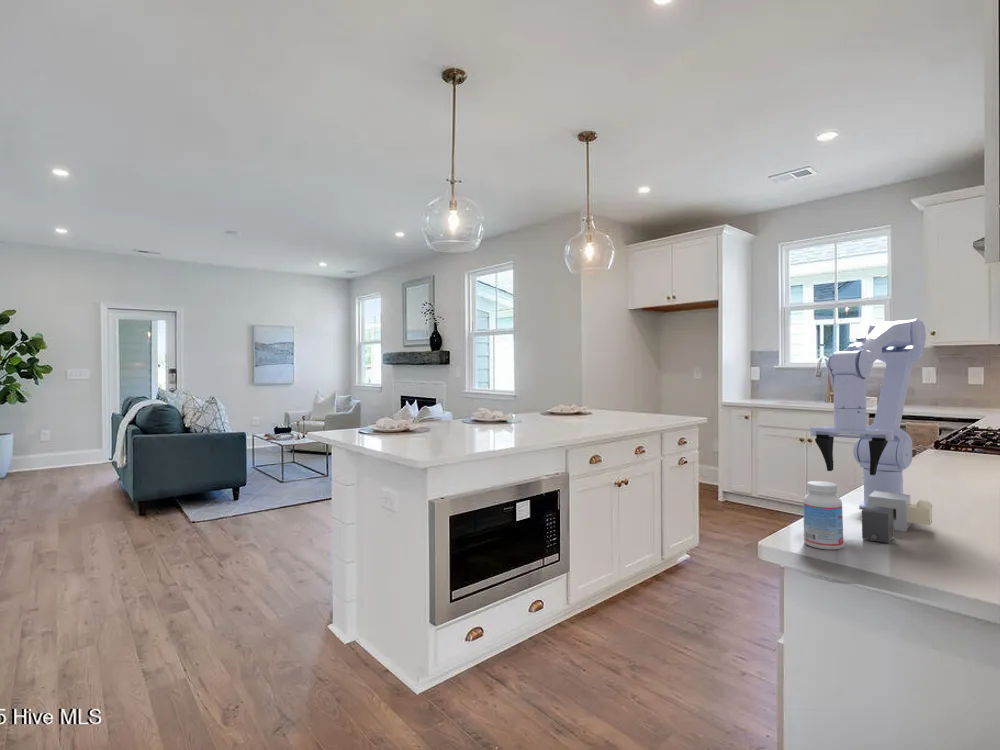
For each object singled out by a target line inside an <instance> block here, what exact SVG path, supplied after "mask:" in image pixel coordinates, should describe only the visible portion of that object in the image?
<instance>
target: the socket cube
mask: <svg viewBox="0 0 1000 750" xmlns="http://www.w3.org/2000/svg"><path fill="white" fill-rule="evenodd" d="M868 502H869V506H876V507H884V508H891V509H893V526H894V530H895V531H901V532H902V531H903V532H907V531H908V529H910V527H911V526H912V523H910V522H907V506H908V505H909V504H912V503H911V494H904V493H903V494H898V493H889V492H881V491H874V492H872V493H871V494H870V495H869V496H868Z"/></svg>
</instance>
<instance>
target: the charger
mask: <svg viewBox="0 0 1000 750" xmlns="http://www.w3.org/2000/svg"><path fill="white" fill-rule="evenodd" d="M894 533H895V531H894V526H893V509H891V508H884V507H876V506H869V505H867V506H866V507H865V508H862V510H861V536H862V537H861V539H863V540H868V541H874V542H875V541H876V542H880V543H887V544H889V543H890V542H891V541H892V539H893V538H894Z"/></svg>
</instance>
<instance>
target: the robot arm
mask: <svg viewBox="0 0 1000 750" xmlns="http://www.w3.org/2000/svg"><path fill="white" fill-rule="evenodd" d="M924 323H925V322H923V320H921V319H920V318H914V319H905V320H894V321H893V320H892V321H880V322H879V321H873V322H872V323H871V324H870V325H869V327H868V331H867V335H862V336H861V335H860V336H857V337H856V338H855V340H854V341H853V342H852V343H850V344H849V345H848V346H847V347H846V348H845V349H843V350H842V351H841V350H840V351H835V352H833V353H832V354H830V355H829V356H828V360H827V364H826V367H827V373H828V375H829V381H830V382H829V383H830V386H832V387H833V419H834V420H833V421H834V422H833V426H810V427H809V429H810V437H815V439H814V440H815V443H816V445H817V446H818V448H819V450H820V452H821V455H822V456H823V461H824V463H825V465H826V466H825V467H826V471H827V472H832V471H834V455H833V454H834V452H833V451H834V441H835V440H834V438H848V439H856V440H855V442H854V444H853V447H852V449H853V450H852V452H853V457H854V460H855V461H856V462H857V464H859V467H860V468H863V469H862V470H863V471H862V472H863V501H862V502H861V503H860V504H859V505H858V508H861V509H864V508H865V507H866V506H867V505H869V502H868V496H869V495H870V494H871V493H872V492H874V491H881V492H889V493H898V494H904V478H903V477H904V476H903V471H904V470H906V469H908V468H909V467H910V466H911V464H912V461H913V439H912V438H911V436H910V434H909V433H907V432H906V431H904V430H903V429H902V428H901V424H902V417H903V412H904V408H905V403H906V397H907V394H908V389H909V384H910V383H909V382H910V378H911V375H912V369H913V365H914V362H916V361H918V360H920V359H921V358H922V357H923V353H924V350H925V345H926V339H927V334H926V326H925V324H924ZM877 360H878V361H881V362H883V363H885V369H884V374H883V379H882V384H881V388H880V392H879V393H880V394H879V396H878V397H879V398H878V402H877V407H876V412H875V415H874V420H873V423H872V424H870V425H867V422H868V421H867V383H866V381H867V378H869V377H870V374H871V371H872V368H873V367H874V363H875V361H877Z"/></svg>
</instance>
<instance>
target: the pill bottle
mask: <svg viewBox="0 0 1000 750" xmlns="http://www.w3.org/2000/svg"><path fill="white" fill-rule="evenodd" d="M806 485H807V487H806V489H807V492H808V493H807V494H806V495H805V496H804V497H803V500H802V501H803V502H802V507H803V508H802V511H803V539H804V540H803V541H804V543H805V544H806V545H808V546H809V547H812V548H815V549H818V550H819V549H820V550H828V551H829V550H832V551H833V550H834V551H837V550H841V549H842V548H844V525H843V524H844V520H843V518H844V517H843V515H844V514H843V502H842V499H841V498H840V497H838V496H836V494H837V493H838V486H837V483H835V482H830V481H824V480H823V481H822V480H812V481H807V484H806Z"/></svg>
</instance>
